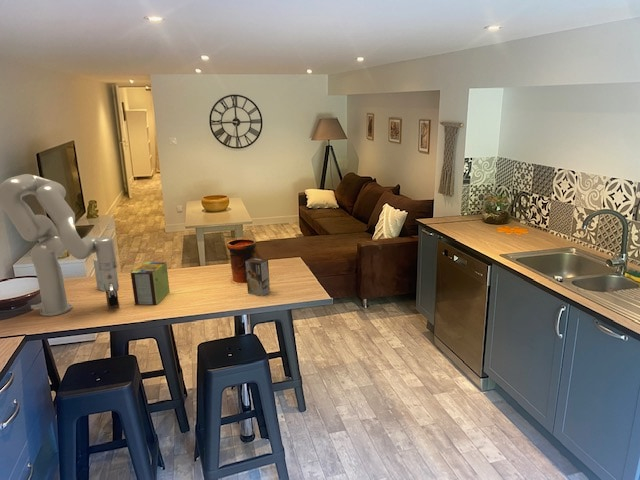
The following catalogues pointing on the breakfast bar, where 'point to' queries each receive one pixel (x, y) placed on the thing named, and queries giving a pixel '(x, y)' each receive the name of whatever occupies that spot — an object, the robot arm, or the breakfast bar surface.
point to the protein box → (150, 283)
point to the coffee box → (257, 276)
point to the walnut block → (109, 302)
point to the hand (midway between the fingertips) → (113, 301)
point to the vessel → (240, 258)
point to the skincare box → (100, 277)
